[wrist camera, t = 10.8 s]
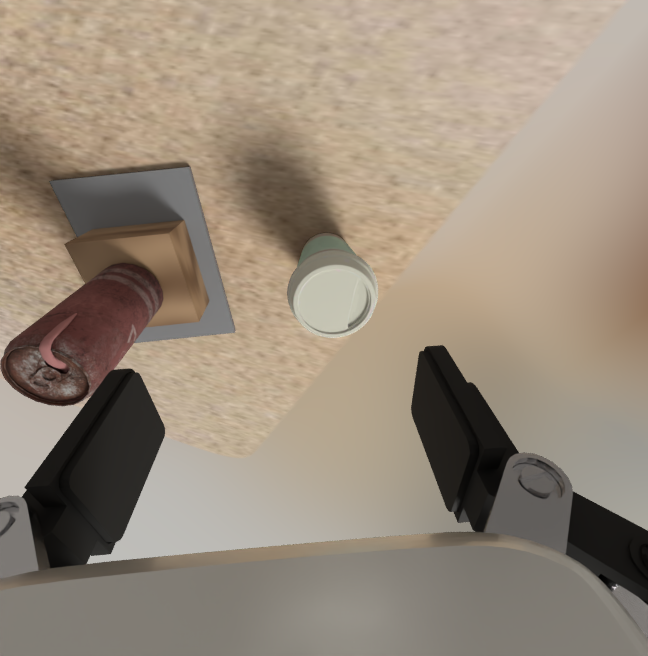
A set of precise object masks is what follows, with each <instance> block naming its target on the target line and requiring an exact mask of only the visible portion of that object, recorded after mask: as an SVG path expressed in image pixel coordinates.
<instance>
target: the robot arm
mask: <svg viewBox="0 0 648 656" xmlns="http://www.w3.org/2000/svg"><path fill="white" fill-rule="evenodd" d="M411 410H412V416H413V419H414V422H415V425H416V427H417V430H418V433H419V435H420V438H421V441H422V443H423V446H424V449H425V452H426V454H427V457H428V459H429V462H430V465H431V468H432V470H433V473H434V475H435V478H436V481H437V484H438V486H439V489H440V492H441V494H442V497H443V500H444V502H445V505H446V508H447V509H448V511H450V512H454V514H455V517H456V519H457V522H458V523H461V522H470V524H471V526H472V529H473V530H474V531H475V532H444V533H429V534H414V535H399V536H386V537H374V538H362V539H351V540H339V541H327V542H315V543H304V544H293V545H281V546H270V547H259V548H248V549H237V550H226V551H216V552H205V553H194V554H184V555H174V556H163V557H153V558H142V559H132V560H121V561H111V562H102V563H93V564H87V561H88V559H89V557H90V555H91V556H94V555H106V554H111V552H112V550H113V548H114V545H115V543H116V542H117V541H119V540H120V539H121V538H122V536H123V534H124V532H125V530H126V527H127V524H128V522H129V520H130V518H131V515H132V513H133V510H134V508H135V505H136V503H137V501H138V498H139V496H140V493H141V491H142V489H143V486H144V484H145V481H146V479H147V477H148V474H149V472H150V470H151V467H152V465H153V462H154V460H155V458H156V455H157V453H158V450H159V448H160V446H161V443H162V441H163V438H164V436H165V427H164V424H163V422H162V420H161V418H160V416H159V414H158V412H157V410H156V407H155V405H154V403H153V401H152V399H151V397H150V395H149V393H148V390H147V388H146V386H145V384H144V382H143V380H142V378H141V376H140V374H139V373H135V371H134V370H133V369H118V370H111V371H110V372H109V373H108V374H107V376H106V377H105V378H104V380H103V381H102V382H101V384H100V385H99V386H98V388H97V389H96V391H95V392H94V393H93V395H92V396H91V397H90V399H89V400H88V401H87V403H86V404H85V406H84V407H83V408H82V410H81V411H80V412H79V414H78V415H77V416H76V418H75V419H74V421H73V422H72V423H71V425H70V426H69V427H68V429H67V430H66V431H65V433H64V434H63V436H62V437H61V438H60V440H59V441H58V442H57V444H56V445H55V446H54V448H53V449H52V451H51V452H50V453H49V455H48V456H47V457H46V459H45V460H44V461H43V463H42V464H41V466H40V467H39V468H38V470H37V471H36V472H35V474H34V475H33V477H32V478H31V479H30V481H29V482H28V483H27V485H26V486H25V488H26V489H27V491H26V492H25V493H24V495H23V496H22V497H19V496H7V497H3V498H0V656H648V531H647V530H645V529H643V528H642V527H640V526H638V525H636V524H634V523H632V522H630V521H628V520H626V519H624V518H622V517H621V516H619V515H617V514H615V513H613V512H611V511H609V510H607V509H605V508H604V507H602V506H600V505H598V504H596V503H594V502H592V501H590V500H588V499H586V498H585V497H583V496H581V495H579V494H577V493H575V492H573V491H572V485H571V483H570V480H569V478H568V477H567V475H566V474H565V473H564V472H563V471H562V469H560V468H559V467H558V466H557V465H556V464H554V463H553V462H551V461H550V460H548V459H546V458H544V457H542V456H539V455H536V454H533V453H519V452H518V451H517V449H516V447H515V446H514V444H513V443H512V441H511V440H510V438H509V437H508V435H507V434H506V432H505V431H504V429H503V427H502V426H501V424H500V423H499V421H498V420H497V418H496V416H495V415H494V413H493V412H492V410H491V409H490V407H489V406H488V404H487V403H486V401H485V400H484V398H483V397H482V395H481V393H480V392H479V390H478V389H477V387H476V386H475V385H474V384H473V383H471V382H470V383H467V382H466V380H465V378H464V377H463V375H462V373H461V372H460V370H459V369H458V367H457V366H456V364H455V362H454V361H453V359H452V357H451V356H450V354H449V353H448V351H447V349H446V348H445V347H444V346H442V345H440V346H427V347H425V349H424V351H421V352H420V353H419V358H418V365H417V372H416V378H415V385H414V392H413V398H412V405H411Z"/></svg>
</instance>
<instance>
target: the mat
mask: <svg viewBox="0 0 648 656" xmlns="http://www.w3.org/2000/svg"><path fill="white" fill-rule="evenodd" d="M49 182H50V184H51V186H52V188H53V190H54V192H55V194H56V196H57V198H58V200H59V202H60V204H61V206H62V208H63V210H64V212H65V214H66V216H67V218H68V220H69V222H70V224H71V226H72V228H73V230H74V232H75V234H76V236H77V237H79V236H81V235H83V234H84V233H86V232H88V231H90V230H92V229H100V228H110V227H120V226H129V225H139V224H149V223H159V222H169V221H179V220H185V223H186V227H187V230H188V233H189V236H190V239H191V243H192V246H193V249H194V252H195V256H196V259H197V262H198V265H199V268H200V272H201V275H202V278H203V281H204V285H205V288H206V291H207V294H208V298H209V303H208V305H207V307H206V309H205V311H204V313H203V315H202V317H201V319H200V321H199V322H194V323H184V324H174V325H165V326H155V327H145V329H144V330H143V331H142V333H141V334H140V335H139V337H138V338H137V339H136V341H135V342H134V343H139V342H149V341H159V340H168V339H178V338H187V337H197V336H207V335H216V334H226V333H235V326H234V323H233V319H232V316H231V312H230V308H229V305H228V301H227V297H226V294H225V290H224V287H223V283H222V279H221V276H220V272H219V268H218V265H217V261H216V258H215V254H214V250H213V247H212V243H211V240H210V236H209V232H208V229H207V225H206V221H205V218H204V214H203V211H202V207H201V203H200V200H199V196H198V193H197V189H196V185H195V182H194V178H193V174H192V171H191V167H181V168H171V169H161V170H151V171H141V172H131V173H121V174H111V175H101V176H91V177H82V178H72V179H62V180H53V181H49Z"/></svg>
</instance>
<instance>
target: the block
mask: <svg viewBox="0 0 648 656" xmlns="http://www.w3.org/2000/svg"><path fill="white" fill-rule="evenodd" d="M65 246H66V248H67V250H68V252H69V254H70V256H71V258H72V259H73V261H74V263H75V265H76V267H77V269H78V271H79V273H80V275H81V277H82V278H83V280H84V282H85V284H86V283H87V282H89V281H90V280H91V279H92V278H94V277H95V276H96V275H98V274H99V273H100V272H102V271H103V270H104V269H105V268H107V267H109V266H111V265H113V264H118V263H128V264H134V265H137V266H139V267H142V268H144V269H146V270H147V271H148V272H150V273H151V274H152V275H153V276H154V277H155V278H156V279H157V280H158V282H159V284H160V286H161V288H162V290H163V302H162V305H161V307H160V309H159V310H158V311H157V313H156V314H155V315H154V317H153V318H152V319H151V321H150V322H149V323H148V325H147V326H146V327H155V326H165V325H174V324H184V323H194V322H199V321H200V319H201V317H202V315H203V313H204V311H205V309H206V307H207V305H208V303H209V298H208V294H207V291H206V288H205V285H204V281H203V278H202V275H201V272H200V268H199V265H198V262H197V259H196V256H195V252H194V249H193V246H192V243H191V239H190V236H189V233H188V230H187V227H186V223H185V220H179V221H169V222H159V223H149V224H139V225H129V226H120V227H110V228H100V229H92V230H90V231H88V232H86V233H84V234H83V235H81V236H79V237H77V238H75V239H73V240H71V241H69V242H67V243H66V244H65Z"/></svg>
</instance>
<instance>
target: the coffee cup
mask: <svg viewBox="0 0 648 656" xmlns="http://www.w3.org/2000/svg"><path fill="white" fill-rule="evenodd" d="M287 295H288V302H289V305H290V308H291V311H292V313H293V315H294V316H295V318H296V319H297V320H298V321H299V322H300V323H301V325H302V326H303V327H304V328H306V329H307V330H308V331H310V332H311V333H313V334H316V335H318V336H322V337H327V338H337V337H343V336H347V335H350V334H352V333H354V332H356V331H357V330H359V329H360V328H362V327H363V326H364V325H365V324H366V323H367V322H368V320H369V319H370V317H371V316H372V314H373V311H374V308H375V306H376V303H377V299H378V284H377V279H376V276H375V274H374V272H373V270H372V269H371V267H370V266H369V265H368V264H367V263H366V262H365V261H364V260H363V259H361V258H360V257H358V256H357V255H356V254H355V253H354V252H353V250H352V249H351V248H350V247H349V246H348V244H347V243H346V242H345V241H344V240H343V239H342V238H341V237H339V236H338V235H335V234H332V233H320V234H317V235H315V236H313V237H312V238H310V239H309V240H308V241H307V243H306V244H305V246H304V248H303V250H302V253H301V256H300V259H299V262H298V265H297V268H296V269H295V271H294V272H293V274H292V276H291V278H290V281H289V284H288V291H287Z"/></svg>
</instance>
